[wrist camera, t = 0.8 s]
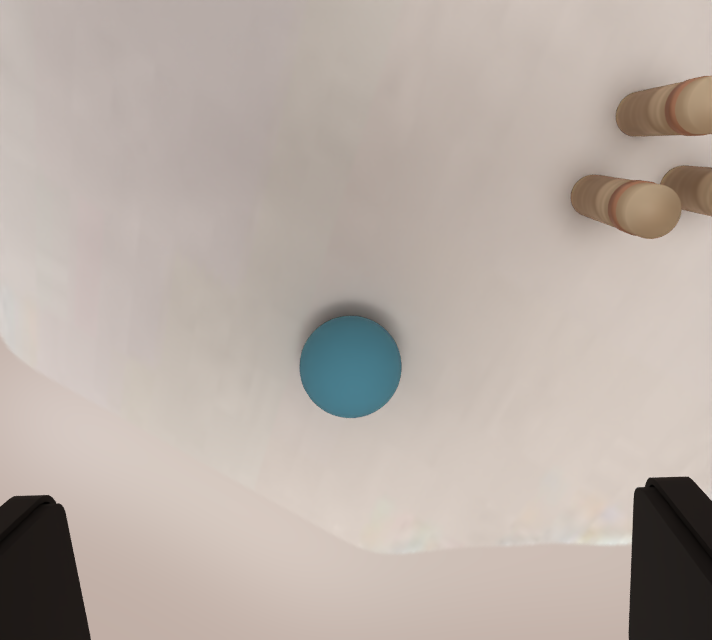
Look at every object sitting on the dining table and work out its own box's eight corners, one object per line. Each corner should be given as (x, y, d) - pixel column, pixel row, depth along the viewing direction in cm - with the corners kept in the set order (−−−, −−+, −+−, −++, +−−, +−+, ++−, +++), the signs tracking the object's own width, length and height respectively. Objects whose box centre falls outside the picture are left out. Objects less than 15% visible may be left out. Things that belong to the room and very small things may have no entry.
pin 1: (605, 116, 35) (674, 108, 27) (639, 80, 35) (720, 59, 26) (637, 146, 36) (714, 147, 27) (670, 111, 35) (761, 100, 26)
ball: (287, 354, 40) (270, 390, 35) (347, 285, 39) (339, 310, 33) (359, 411, 41) (353, 455, 35) (420, 346, 40) (425, 380, 34)
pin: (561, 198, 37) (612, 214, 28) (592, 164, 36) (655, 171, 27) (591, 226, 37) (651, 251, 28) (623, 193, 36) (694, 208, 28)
